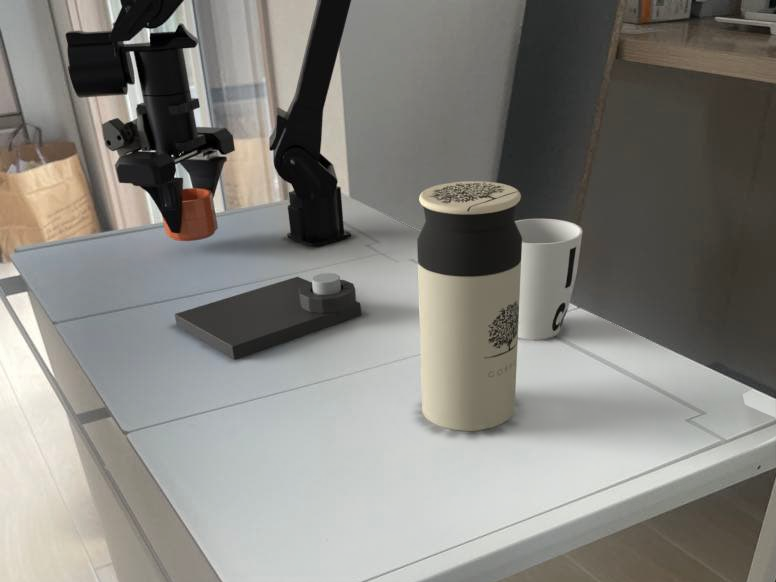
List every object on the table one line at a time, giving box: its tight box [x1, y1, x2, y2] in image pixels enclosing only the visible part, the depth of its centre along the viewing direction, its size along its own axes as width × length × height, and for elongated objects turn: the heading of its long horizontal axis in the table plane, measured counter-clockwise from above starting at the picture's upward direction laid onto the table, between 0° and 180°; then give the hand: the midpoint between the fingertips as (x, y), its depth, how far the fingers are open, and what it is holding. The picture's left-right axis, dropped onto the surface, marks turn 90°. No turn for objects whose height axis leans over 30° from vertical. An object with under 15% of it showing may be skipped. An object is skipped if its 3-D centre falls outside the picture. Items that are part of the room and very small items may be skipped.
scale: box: [174, 276, 362, 360], centre depth 90 cm, size 16×12×3 cm
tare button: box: [311, 272, 341, 295], centre depth 89 cm, size 3×3×2 cm
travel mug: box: [416, 180, 522, 432], centre depth 67 cm, size 8×8×18 cm
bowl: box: [161, 187, 219, 242], centre depth 110 cm, size 7×7×5 cm
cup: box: [514, 218, 583, 341], centre depth 83 cm, size 8×8×10 cm
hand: (190, 224), depth 111 cm, fingers closed on bowl, 7 cm apart
